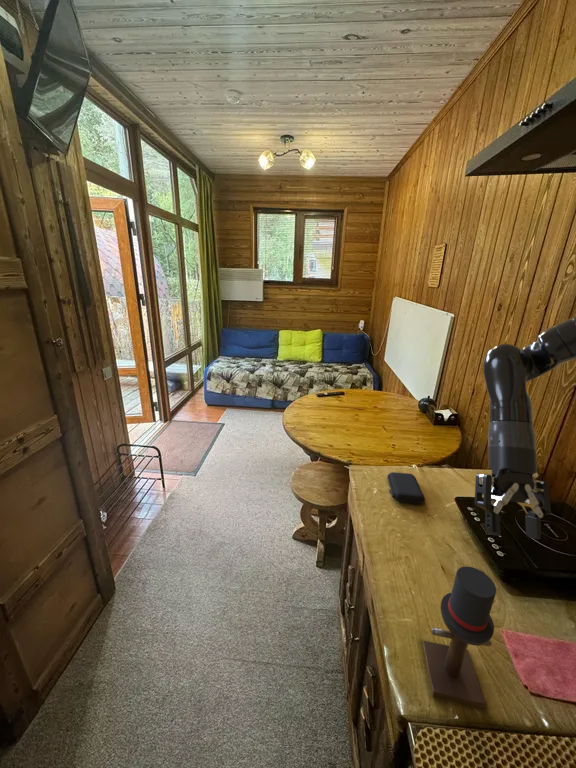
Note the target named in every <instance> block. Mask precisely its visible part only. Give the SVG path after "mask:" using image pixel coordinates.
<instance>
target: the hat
mask: <svg viewBox="0 0 576 768" xmlns="http://www.w3.org/2000/svg"><path fill="white" fill-rule="evenodd" d="M496 594H497V587H496V584H495V583H494V581H493V579H491V577H490V576H489V575H487V574H486V573H485V572H483V571H482V570H480V569H478V568H476V567H472V566H467V565H466V566H465V565H464V566H461V567H459V568H458V569H456V572H455V577H454V581H453V585H452V589H451V592H447V593H446V594H445V595H444V596H443V597H442V599H441V602H440V605H439V606H440V607H439V608H440V613H441V617H442V616H443V618H442V620H443V619H444V620H445V622H446V624H447V625H448V626H449V627H450V628H451V629H452V630H453V631H454V632H455V633H456V634H457V635H459V636H460V637H462V638H463V639H465V640H468V641H470V642H474V643H485V642H488V641H489V640H490V641H491V639H492V638H493V636H494V632H495V623H494V621H493V618H492V617H491V611H492V607H493V604H494V602H495V597H496Z"/></svg>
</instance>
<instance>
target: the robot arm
mask: <svg viewBox="0 0 576 768" xmlns="http://www.w3.org/2000/svg"><path fill="white" fill-rule="evenodd" d="M573 360H576V315H574V316H572V317H570V318H567V319H566V320H564V321H561V322H559V323H557V324H555V325H552V326H550V327H548V328H546V329H544V330H543V331H541V332H539V334H538V335H537V339H536V341H533V342H532V343H530V344H528V345H526V346H524V347H522V348H520V347H519V346H517V345H514V344H511V343H500V344H497V345H495V346H493V347H492V348H490V349H489V350H488V351H487V353H486V355H485V357H484V359H483V367H482V369H483V378H484V382H485V383H484V384H485V388H486V392H487V396H488V400H489V401H488V428H487V429H488V430H487V467H488V469H490V470H491V473H490V474H486V473H476V474H475V486H474V506H476V507H478V508H481V509H482V510H484V516H485V518H484V519H485V522H484V523H485V525H484V527H485V529H486V532H487V533H488V534H490V535H492V536H495V537H500V536H501V514H499V513H500V512H501V510H502V509H503V507H504V506H506V505H508V504H509V502H510V503H517V504H518V505H519V506H521V508H522V509H523V511H524V512H525V515H524V519H525V520H524V521H525V523H524V524H525V535H526V537H527V538H531V539H533V540H540V539H541V536H542V520H541V519H542V518H544V517H545V516H551V514H552V509H551V508H552V507H551V497H550V488H549V487H550V486H549V483H548V482H547V481H544V480H535V479H534V478H533V475H536V474H537V473H538V462H537V461H538V460H537V440H536V439H537V438H536V432H535V427H534V410H533V402H532V399H531V396H530V395H529V393H528V391H527V383H528V382H530V381H532V380H534V379H537V378H538V377H541V376H542V375H544V374H546V373H548V372H550V371H552V370H554V369H555V368H557V367H559V366H560V365H562V364H564V363H567V362H570V361H573ZM541 502H542V506H541Z"/></svg>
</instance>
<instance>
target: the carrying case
mask: <svg viewBox="0 0 576 768" xmlns="http://www.w3.org/2000/svg"><path fill="white" fill-rule="evenodd" d="M387 479H388V484H389V487H390V489H388V493H389V495H390V496H391V497H392V498H393V499H394V500H395V501H396V502H398V503H403V504H412V505H413V504H415V505H422V504H424V503H425V502H426V498H425V495H424V493H423V490H422V489H421V486H420V484H419V481H418V480H417V478H416V476H415V475H414V474H413V473H408V472H407V473H406V472H396V471H391V472H389V473H388V474H387Z"/></svg>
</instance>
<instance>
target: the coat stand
mask: <svg viewBox="0 0 576 768" xmlns="http://www.w3.org/2000/svg"><path fill="white" fill-rule="evenodd" d="M441 618H442V621H443V623H444V625H445V627H446V628H447V629H448V630H446V629H441V628H436V627H431V629H430V633H431V634H432V635H433V636H436V637H442V638H445V639H446V638H447V639H450V642H449V645H447V644H442V643H437V642H432V641H428V640H422V643H421V646H422V651H423V656H424V662H425V666H426V672H427V677H428V681H429V686H430V692H431V696H432V697H434V698H439V699H442V700H446V701H451V702H456V703H459V704H463V705H467V706H472V707H476V708H480V709H485V707H486V701H485V699H484V695H483V692H482V689H481V686H480V683H479V680H478V676H477V674H476V671H475V668H474V664H473V661H472V658H471V655H470V652H469V649H468V646H469V645H471V646H477V647H478V646H485V647H491V646H492V641H491V639H490V640H489V641H488V642H485V643H474V642H470V641H468V640H465V639H463V638H462V637H460V636H459V635H457V634H456V633H455V632H454V631H453V630H452V629H451V628H450V627H449V626H448V625H447V624H446V622H445V620H444V619H443V616H442V615H441Z"/></svg>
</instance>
